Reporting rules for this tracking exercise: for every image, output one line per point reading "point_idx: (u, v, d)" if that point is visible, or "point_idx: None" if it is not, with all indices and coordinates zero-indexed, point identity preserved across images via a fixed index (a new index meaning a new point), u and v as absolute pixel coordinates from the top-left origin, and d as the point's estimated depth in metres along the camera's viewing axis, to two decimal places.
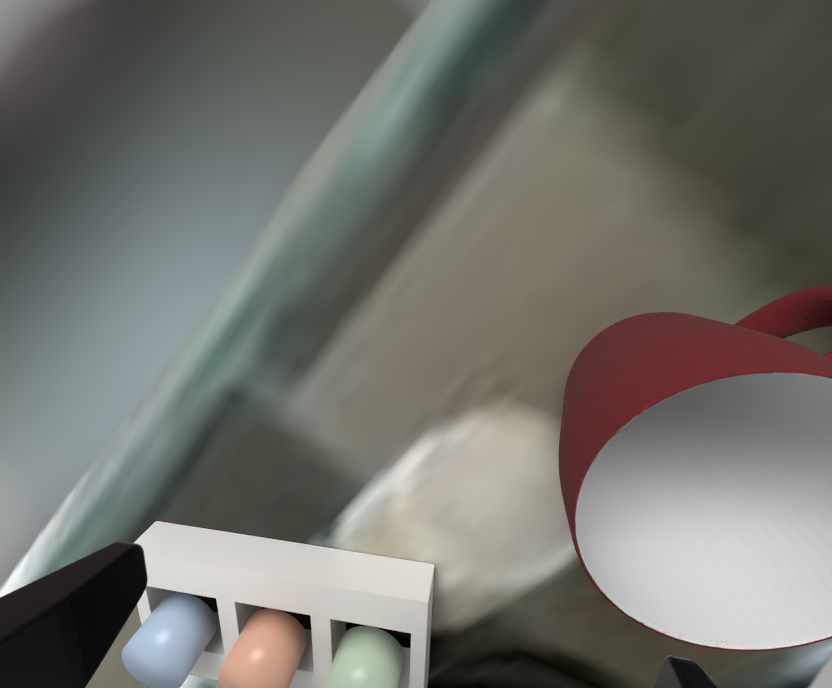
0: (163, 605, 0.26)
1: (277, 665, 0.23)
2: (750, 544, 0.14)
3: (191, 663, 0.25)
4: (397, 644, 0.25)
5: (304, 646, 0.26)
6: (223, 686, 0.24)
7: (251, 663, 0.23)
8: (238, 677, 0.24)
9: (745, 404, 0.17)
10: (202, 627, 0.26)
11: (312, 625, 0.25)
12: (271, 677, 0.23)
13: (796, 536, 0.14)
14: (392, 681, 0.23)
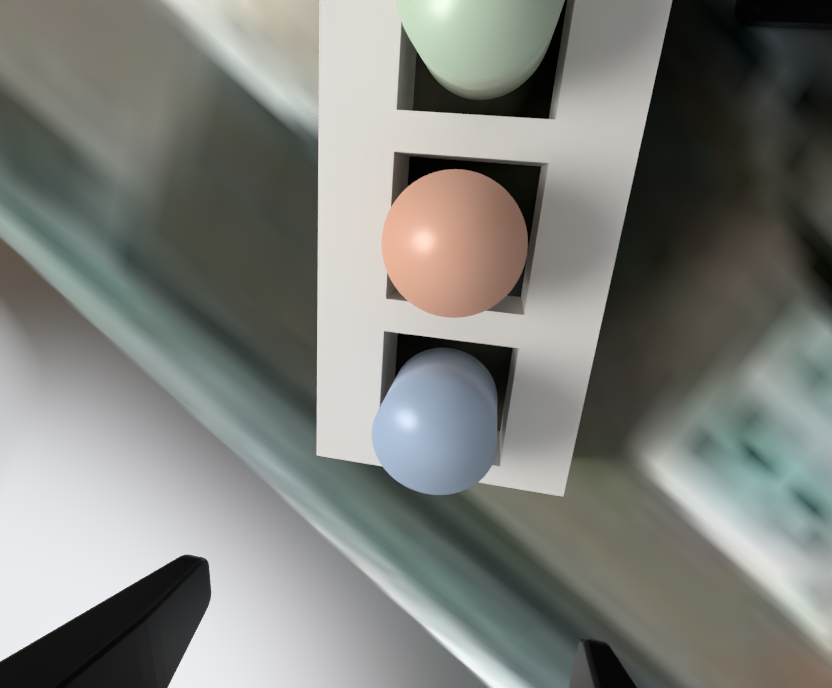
0: None
1: None
2: None
3: (445, 376, 0.13)
4: None
5: None
6: (462, 310, 0.12)
7: (385, 233, 0.12)
8: (431, 270, 0.12)
9: None
10: (423, 360, 0.15)
11: (419, 150, 0.13)
12: (415, 193, 0.11)
13: None
14: None
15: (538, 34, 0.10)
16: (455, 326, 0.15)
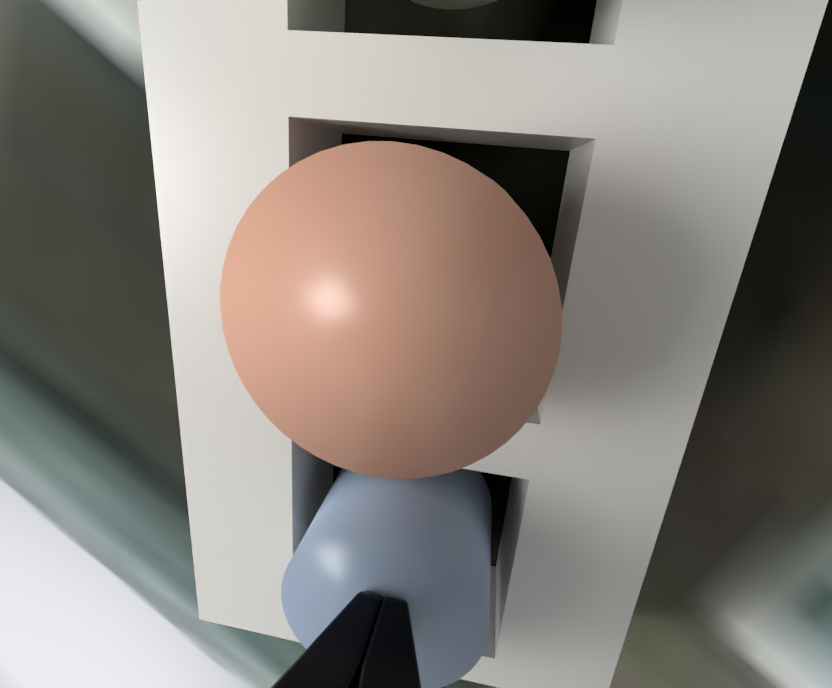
0: None
1: None
2: None
3: (402, 507, 0.08)
4: None
5: None
6: (410, 464, 0.05)
7: (228, 294, 0.05)
8: (335, 378, 0.05)
9: None
10: None
11: (336, 114, 0.07)
12: (287, 202, 0.05)
13: None
14: None
15: None
16: None
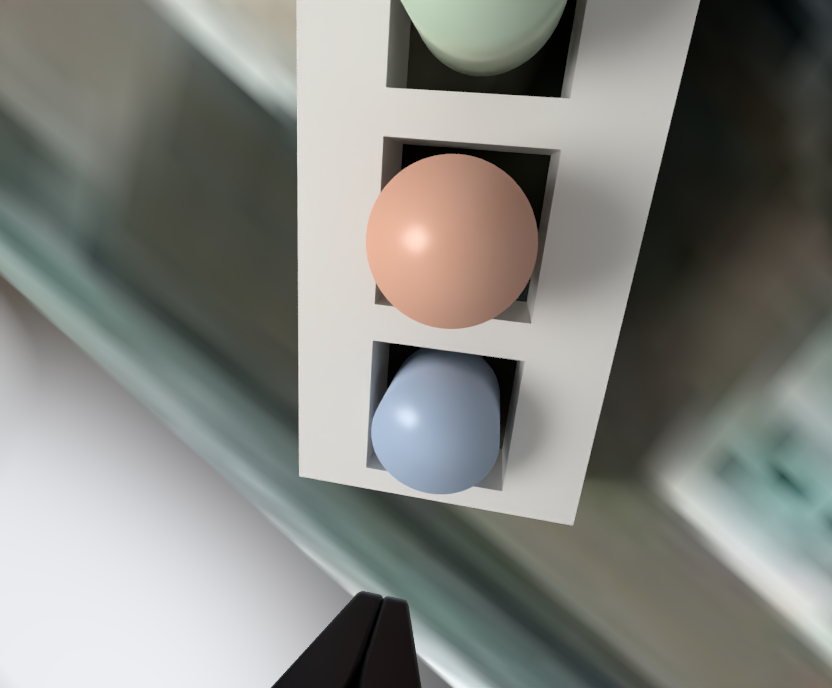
0: None
1: None
2: None
3: (446, 373, 0.13)
4: None
5: None
6: (461, 320, 0.10)
7: (370, 230, 0.10)
8: (423, 273, 0.10)
9: None
10: (424, 356, 0.14)
11: (411, 135, 0.12)
12: (405, 183, 0.09)
13: None
14: None
15: None
16: (453, 336, 0.13)
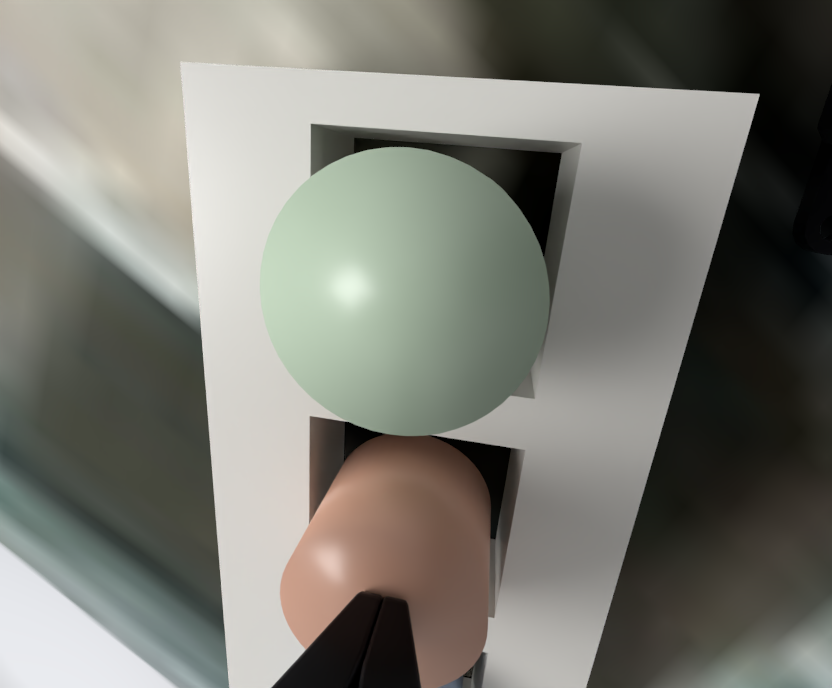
0: None
1: (321, 521, 0.08)
2: None
3: None
4: None
5: (417, 444, 0.10)
6: None
7: (285, 586, 0.08)
8: None
9: None
10: None
11: None
12: (323, 548, 0.08)
13: None
14: None
15: (496, 392, 0.06)
16: None
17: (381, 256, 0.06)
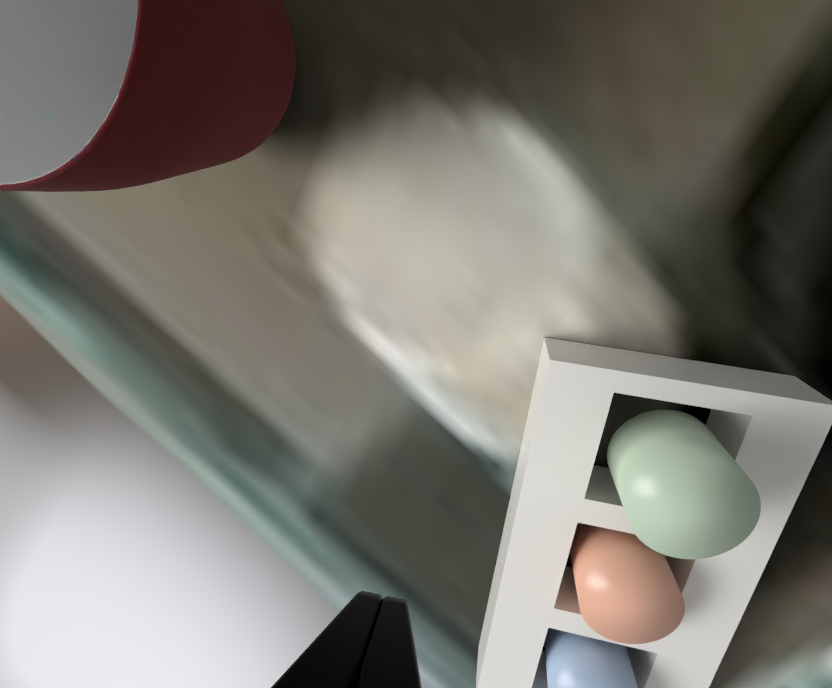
0: None
1: (602, 562, 0.17)
2: None
3: (606, 663, 0.19)
4: (642, 415, 0.16)
5: None
6: (631, 640, 0.17)
7: (584, 592, 0.17)
8: (612, 616, 0.17)
9: None
10: None
11: (597, 524, 0.18)
12: (609, 576, 0.17)
13: None
14: (666, 439, 0.14)
15: (729, 545, 0.14)
16: None
17: (689, 492, 0.14)
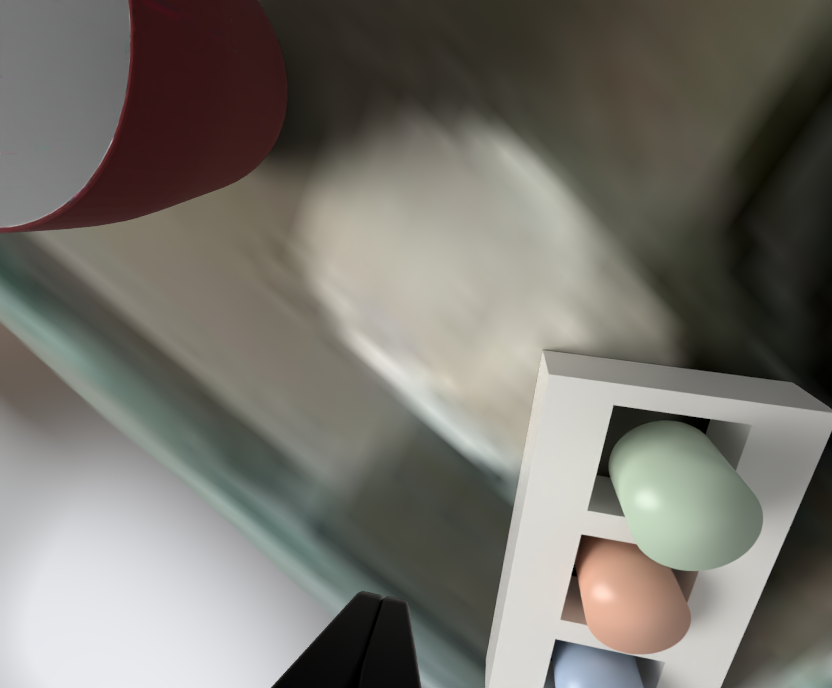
0: None
1: (607, 573, 0.17)
2: None
3: (614, 673, 0.19)
4: (642, 427, 0.16)
5: None
6: (638, 650, 0.17)
7: (590, 604, 0.17)
8: (619, 627, 0.17)
9: None
10: None
11: (601, 536, 0.18)
12: (615, 587, 0.17)
13: None
14: (667, 452, 0.14)
15: (733, 556, 0.14)
16: None
17: (691, 505, 0.14)
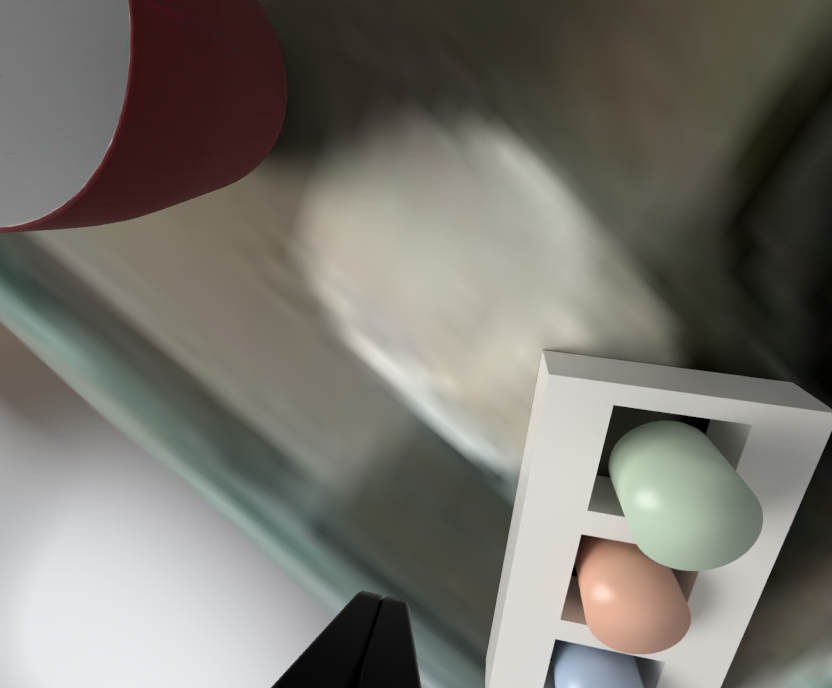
0: None
1: (607, 573, 0.17)
2: None
3: (614, 673, 0.19)
4: (642, 427, 0.16)
5: None
6: (638, 650, 0.17)
7: (590, 604, 0.17)
8: (619, 627, 0.17)
9: None
10: None
11: (601, 536, 0.18)
12: (615, 587, 0.17)
13: None
14: (667, 452, 0.14)
15: (733, 556, 0.14)
16: None
17: (691, 505, 0.14)
